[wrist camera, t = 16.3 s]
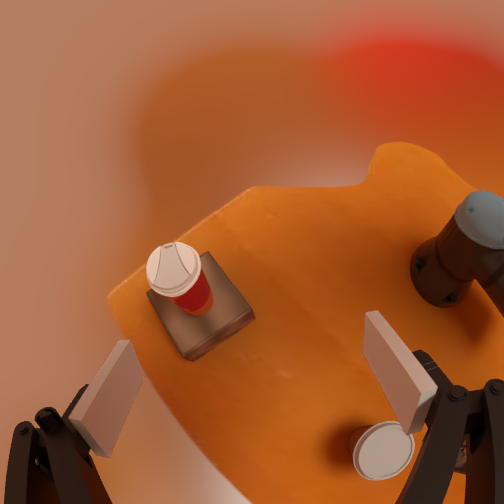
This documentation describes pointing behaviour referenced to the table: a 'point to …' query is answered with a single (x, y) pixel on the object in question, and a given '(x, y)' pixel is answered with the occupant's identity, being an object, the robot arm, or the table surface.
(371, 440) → the disposable coffee cup
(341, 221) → the table surface
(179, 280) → the paper cup
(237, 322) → the walnut box
